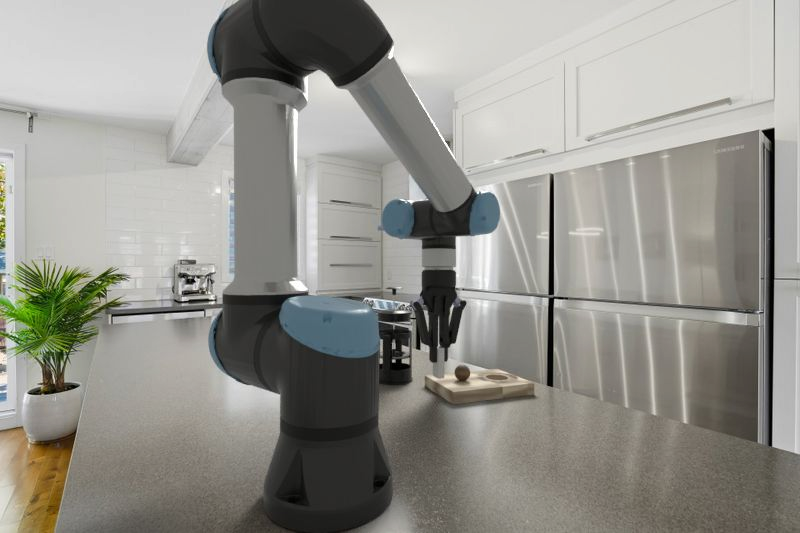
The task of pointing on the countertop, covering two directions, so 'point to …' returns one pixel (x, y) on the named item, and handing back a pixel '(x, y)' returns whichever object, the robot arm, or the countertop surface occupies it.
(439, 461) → the countertop surface
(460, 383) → the cutting board
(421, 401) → the countertop surface
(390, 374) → the french press
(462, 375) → the ball
